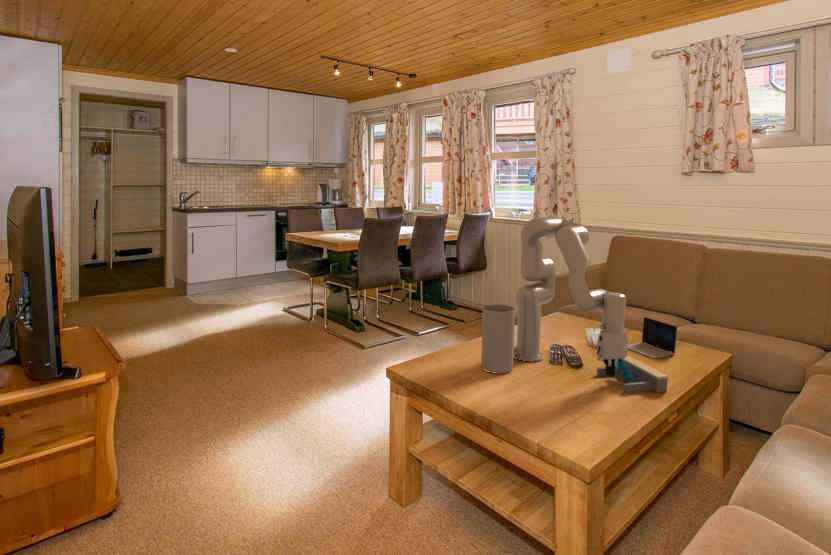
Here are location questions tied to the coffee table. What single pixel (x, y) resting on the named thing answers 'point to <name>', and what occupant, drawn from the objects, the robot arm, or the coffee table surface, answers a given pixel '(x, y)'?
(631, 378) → the gear
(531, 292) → the robot arm
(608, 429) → the coffee table surface
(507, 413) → the coffee table surface
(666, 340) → the laptop
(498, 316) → the cylinder vase
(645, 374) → the gear bay
